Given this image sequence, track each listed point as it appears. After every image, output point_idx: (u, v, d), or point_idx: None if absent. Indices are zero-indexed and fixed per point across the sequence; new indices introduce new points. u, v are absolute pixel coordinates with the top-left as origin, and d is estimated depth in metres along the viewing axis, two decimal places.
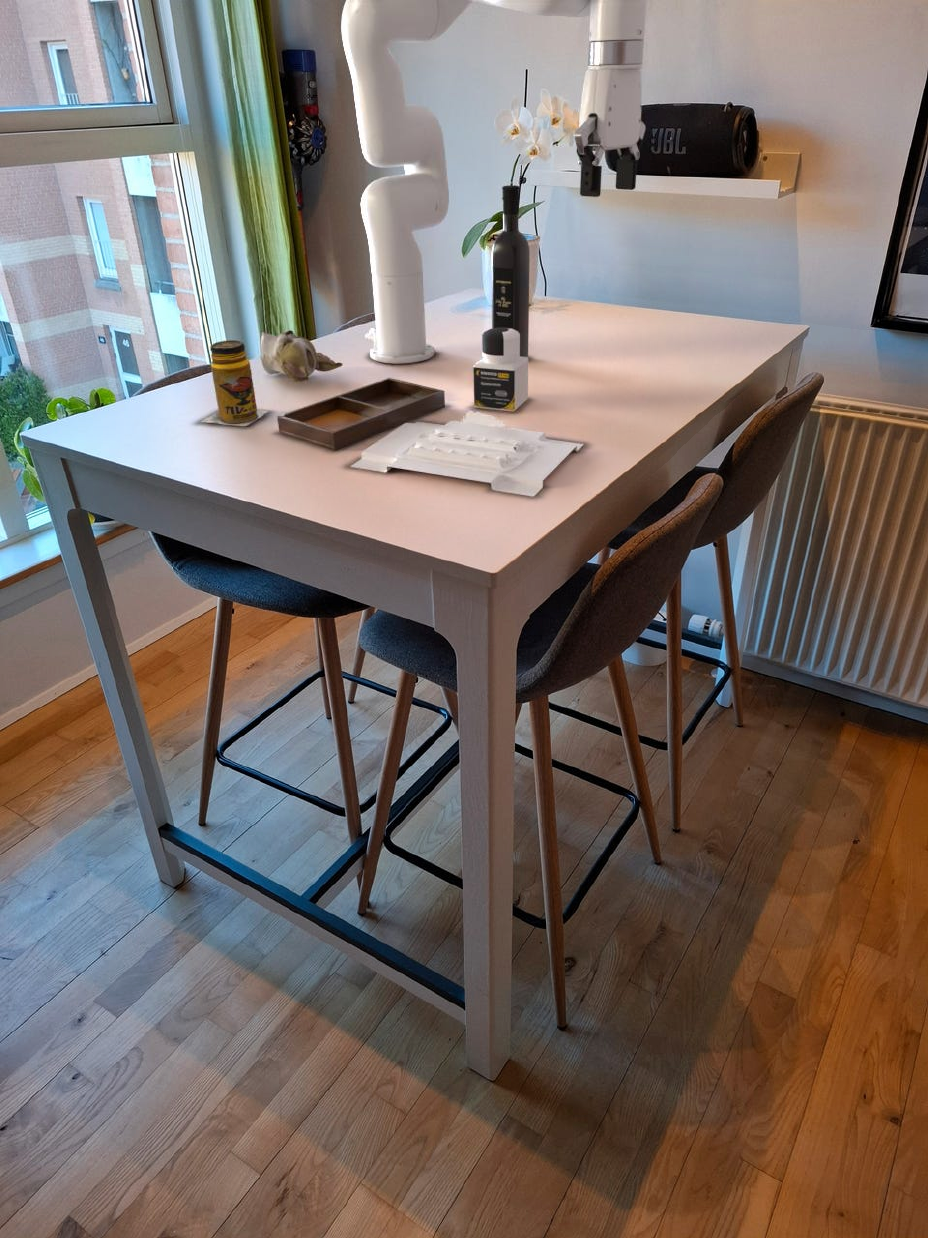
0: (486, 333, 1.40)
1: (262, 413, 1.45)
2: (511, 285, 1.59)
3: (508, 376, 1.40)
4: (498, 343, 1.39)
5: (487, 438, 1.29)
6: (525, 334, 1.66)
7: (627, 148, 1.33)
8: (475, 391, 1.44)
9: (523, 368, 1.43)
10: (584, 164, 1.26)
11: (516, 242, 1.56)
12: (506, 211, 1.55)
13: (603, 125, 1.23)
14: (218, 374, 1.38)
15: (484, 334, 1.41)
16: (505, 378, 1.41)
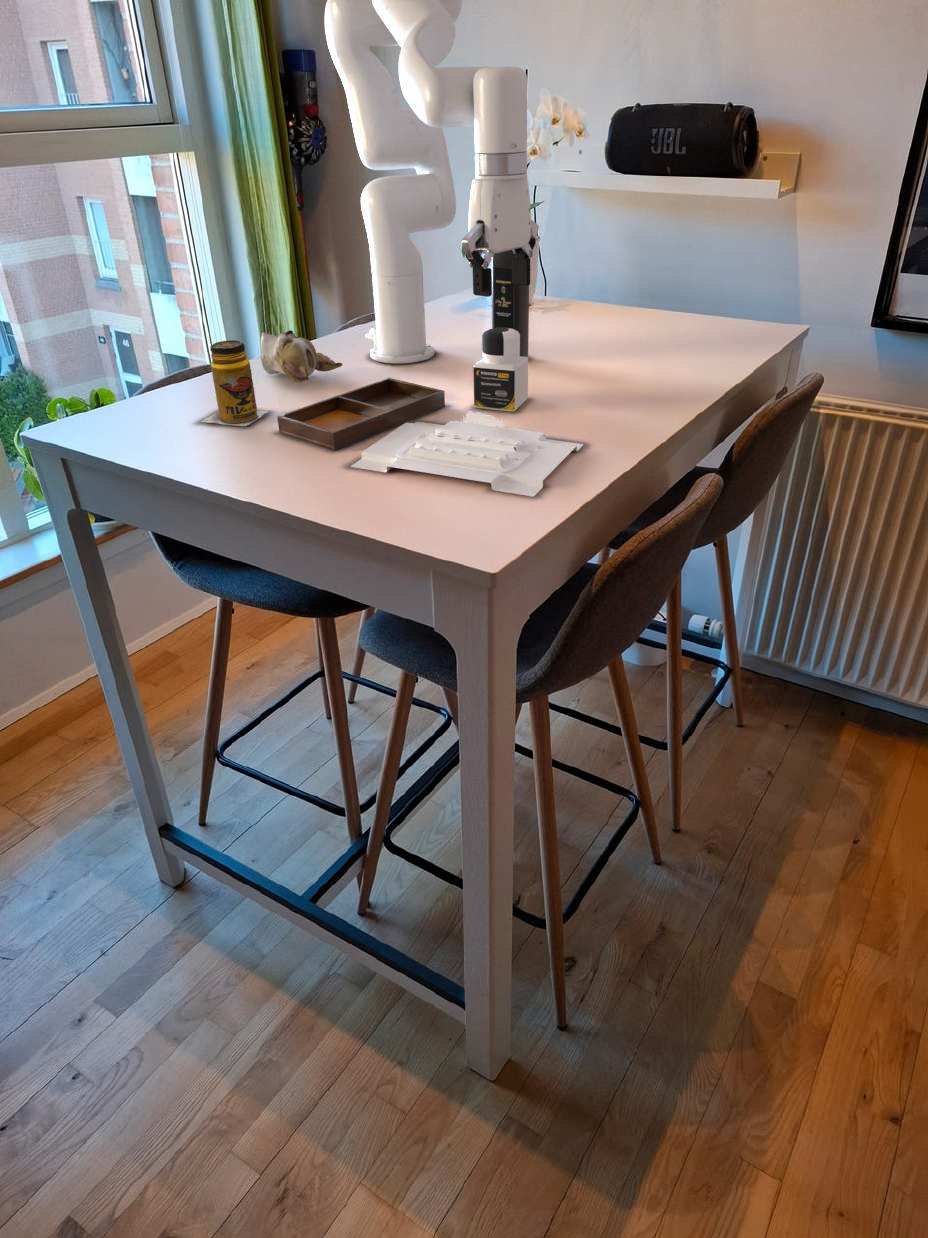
0: (486, 333, 1.40)
1: (262, 413, 1.45)
2: (512, 285, 1.59)
3: (508, 376, 1.40)
4: (498, 343, 1.39)
5: (487, 438, 1.29)
6: (525, 334, 1.66)
7: (521, 247, 1.38)
8: (475, 391, 1.44)
9: (523, 368, 1.43)
10: (474, 267, 1.32)
11: None
12: None
13: (490, 231, 1.29)
14: (218, 374, 1.38)
15: (484, 334, 1.41)
16: (505, 378, 1.41)
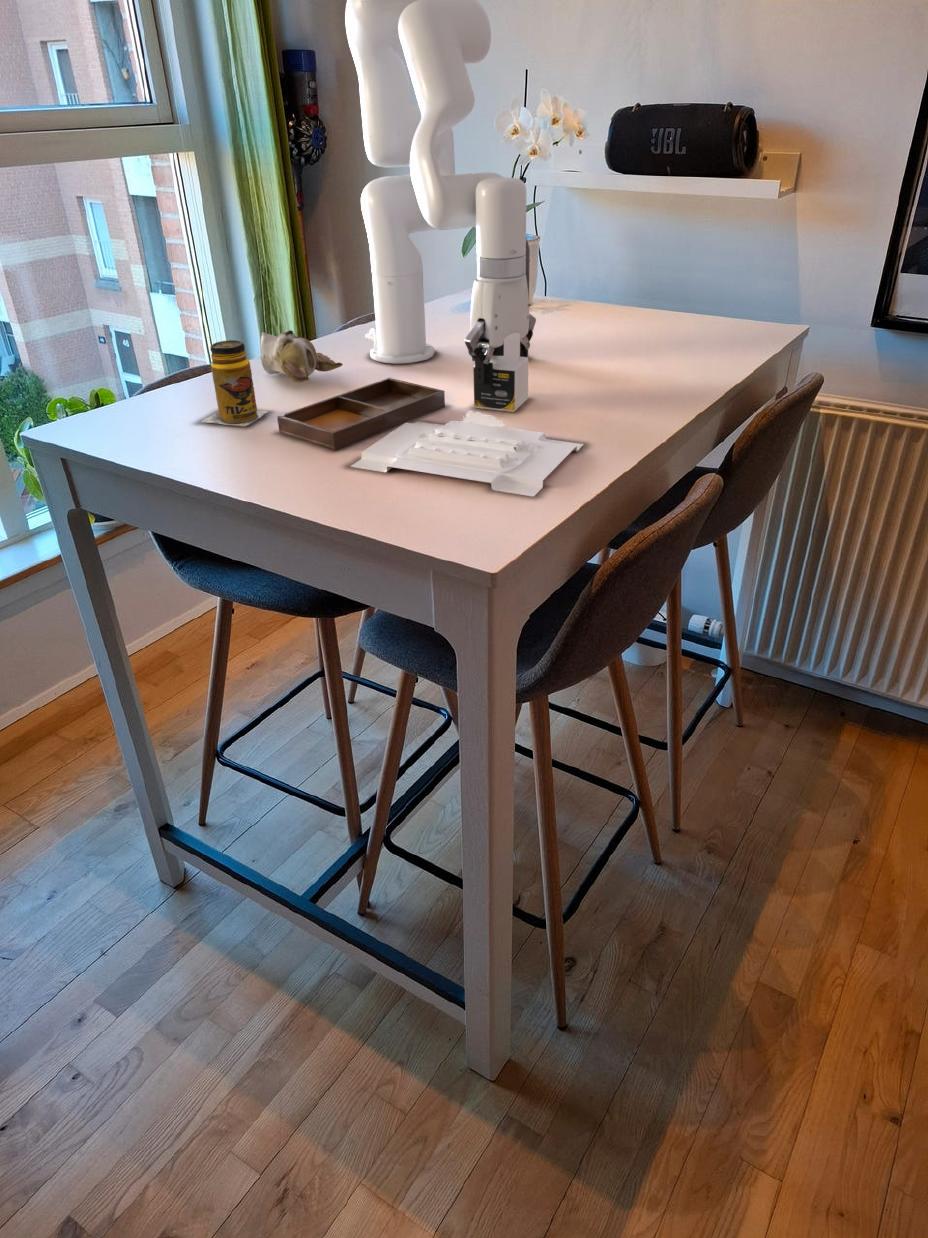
0: None
1: (262, 413, 1.45)
2: None
3: (508, 376, 1.40)
4: None
5: (487, 438, 1.29)
6: None
7: None
8: (475, 392, 1.44)
9: (523, 369, 1.43)
10: (477, 361, 1.39)
11: None
12: None
13: (490, 329, 1.36)
14: (218, 374, 1.38)
15: None
16: (505, 378, 1.41)
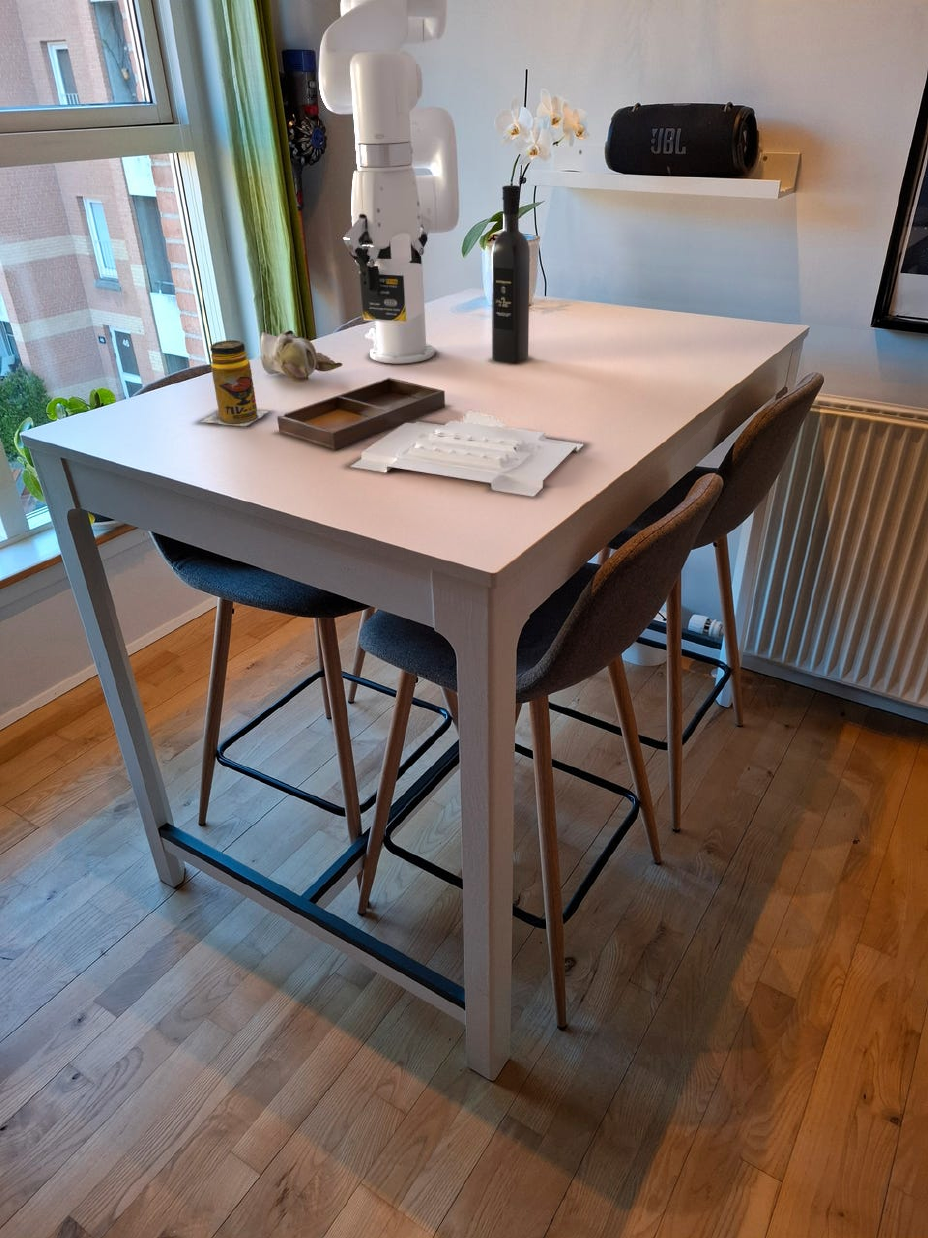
0: None
1: (262, 413, 1.45)
2: (512, 285, 1.59)
3: (397, 282, 1.27)
4: None
5: (487, 438, 1.29)
6: (525, 334, 1.66)
7: (412, 243, 1.32)
8: (362, 301, 1.30)
9: (415, 275, 1.30)
10: (360, 264, 1.25)
11: (516, 242, 1.56)
12: (506, 211, 1.55)
13: (373, 226, 1.22)
14: (218, 374, 1.38)
15: None
16: (394, 284, 1.27)
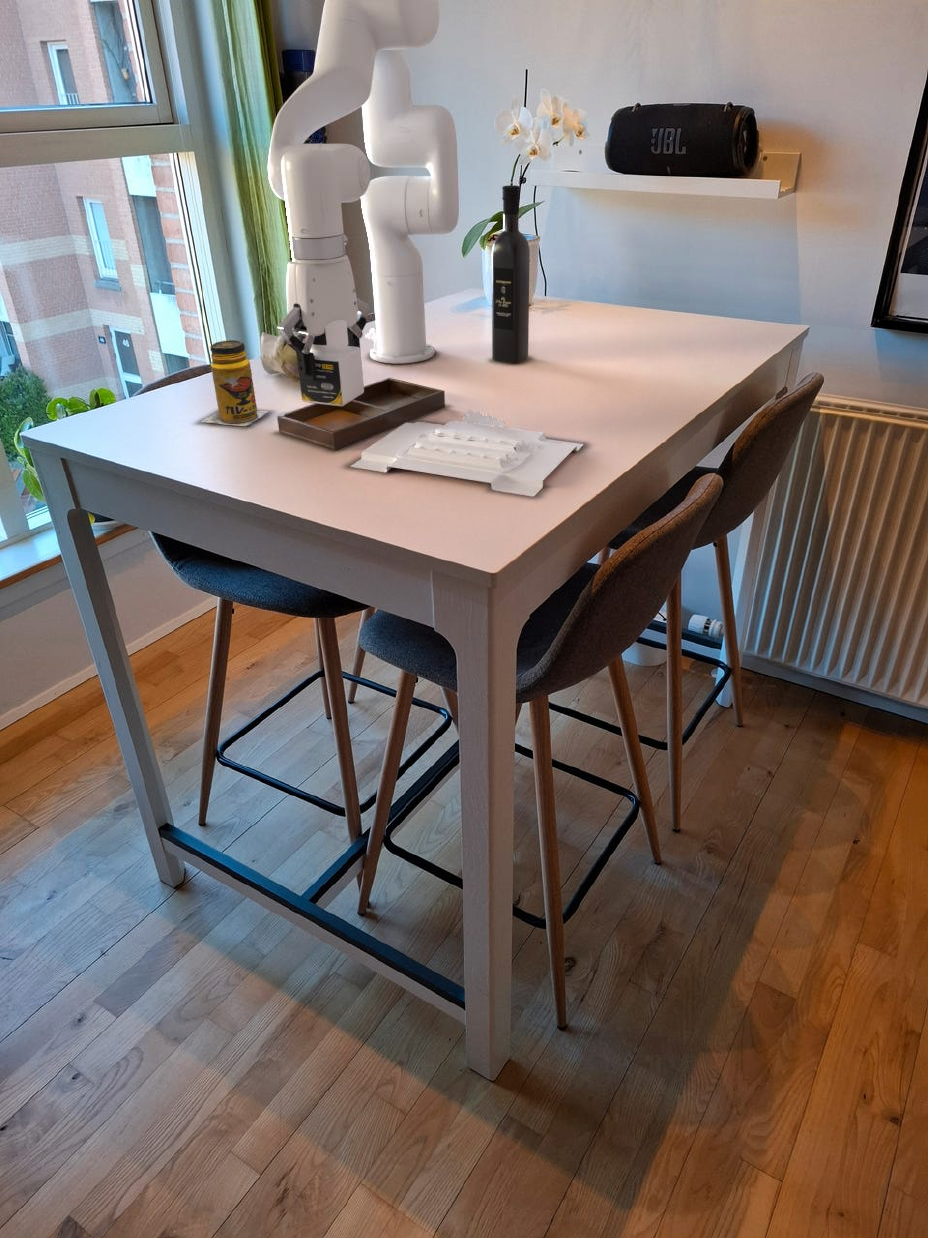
0: None
1: (262, 413, 1.45)
2: (512, 285, 1.59)
3: (332, 368, 1.29)
4: None
5: (487, 438, 1.29)
6: (525, 334, 1.66)
7: None
8: (300, 384, 1.33)
9: (352, 359, 1.32)
10: (296, 351, 1.28)
11: (516, 242, 1.56)
12: (506, 211, 1.55)
13: (306, 316, 1.25)
14: (218, 374, 1.38)
15: None
16: (330, 369, 1.29)
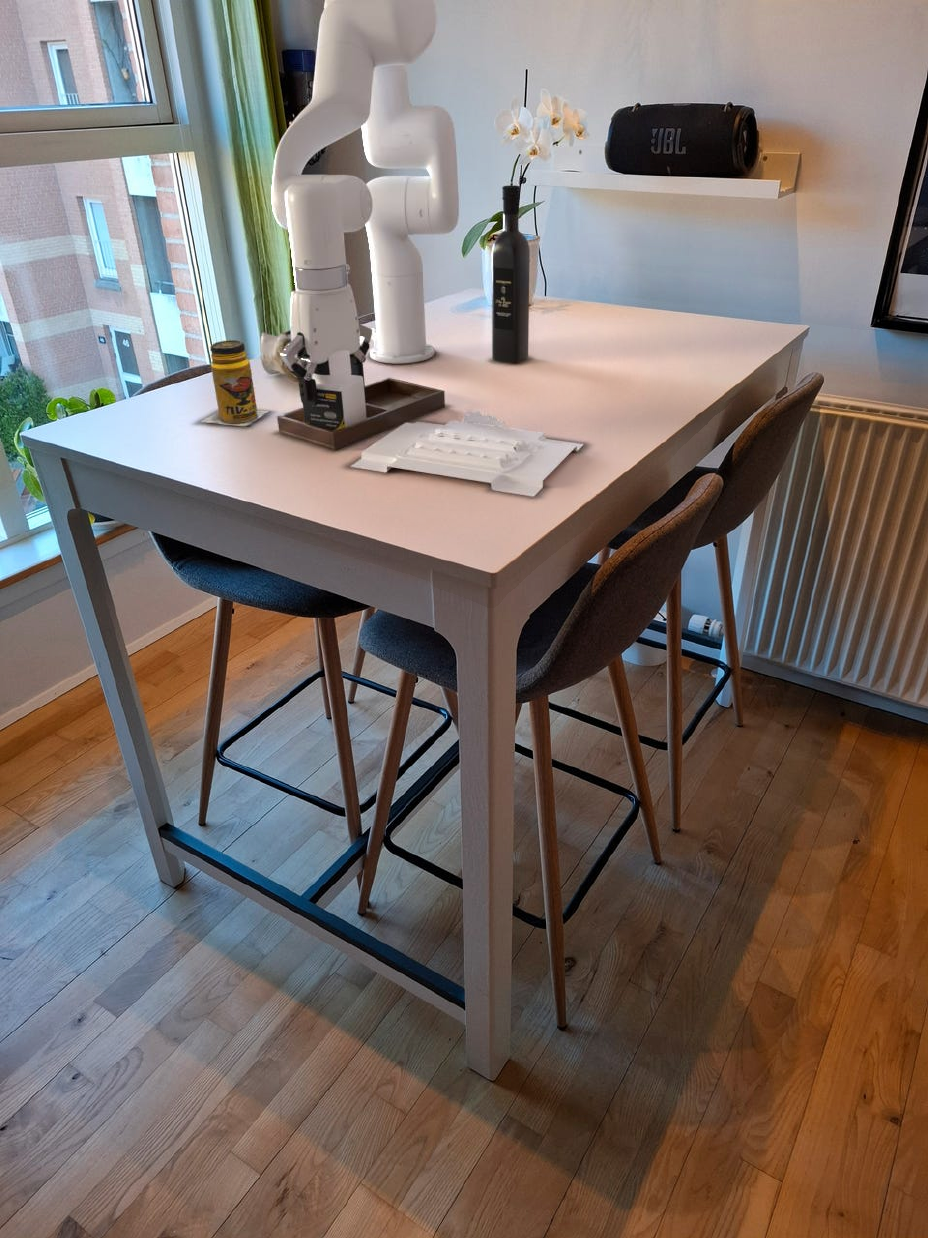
0: None
1: (262, 413, 1.45)
2: (512, 285, 1.59)
3: (335, 397, 1.31)
4: None
5: (487, 438, 1.29)
6: (525, 334, 1.66)
7: None
8: (304, 413, 1.35)
9: (355, 388, 1.34)
10: (298, 377, 1.30)
11: (516, 242, 1.56)
12: (506, 211, 1.55)
13: (310, 344, 1.27)
14: (218, 374, 1.38)
15: None
16: (333, 399, 1.32)
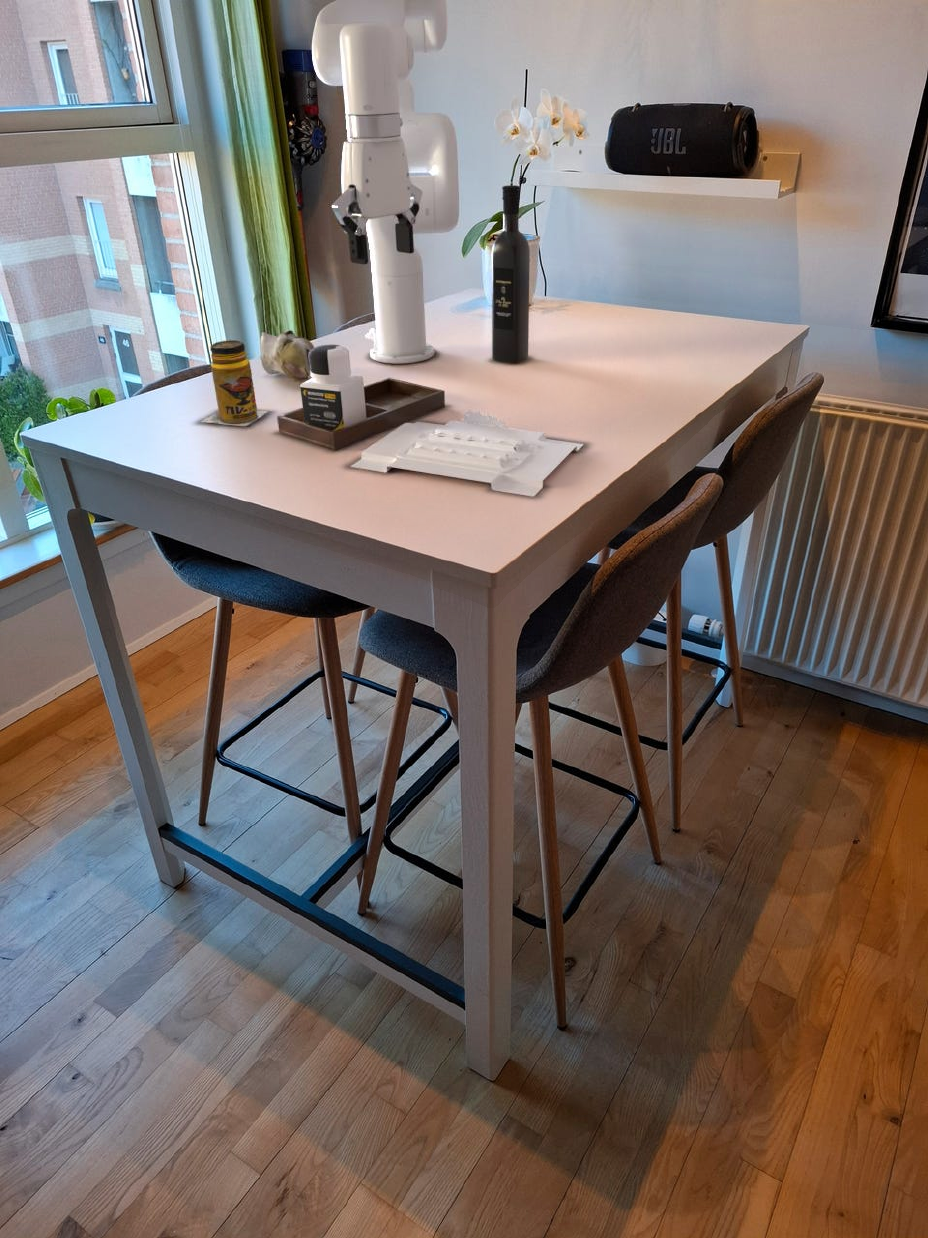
0: (312, 351, 1.31)
1: (262, 413, 1.45)
2: (512, 285, 1.59)
3: (335, 397, 1.31)
4: (322, 361, 1.30)
5: (487, 438, 1.29)
6: (525, 334, 1.66)
7: None
8: (304, 412, 1.35)
9: (355, 388, 1.34)
10: (349, 233, 1.28)
11: (516, 242, 1.56)
12: (506, 211, 1.55)
13: (361, 196, 1.25)
14: (218, 374, 1.38)
15: (310, 352, 1.32)
16: (332, 399, 1.32)
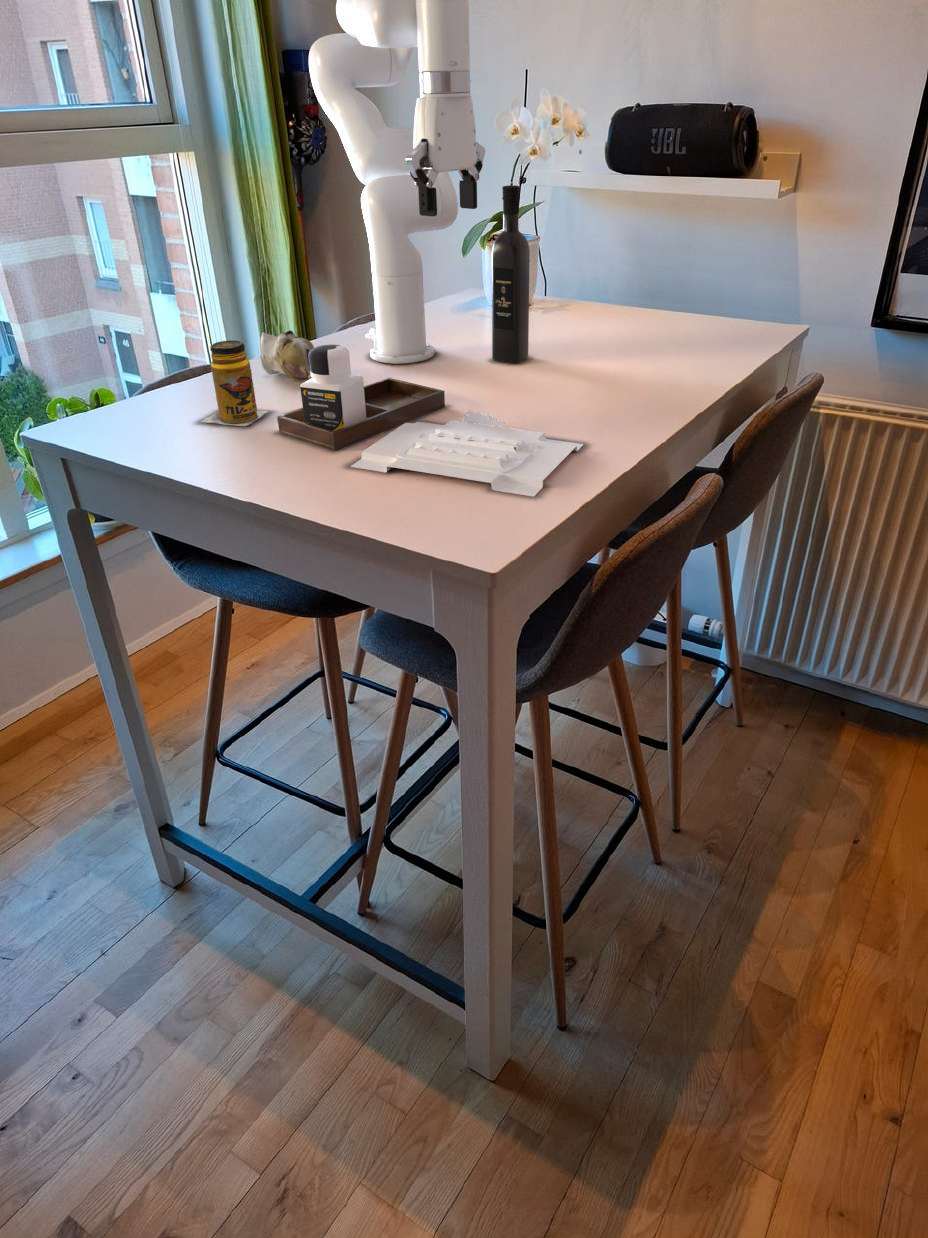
0: (312, 351, 1.31)
1: (262, 413, 1.45)
2: (512, 285, 1.59)
3: (335, 397, 1.31)
4: (322, 361, 1.30)
5: (487, 438, 1.29)
6: (525, 334, 1.66)
7: (468, 170, 1.41)
8: (304, 412, 1.35)
9: (355, 388, 1.34)
10: (419, 186, 1.34)
11: (516, 242, 1.56)
12: (506, 211, 1.55)
13: (433, 150, 1.31)
14: (218, 374, 1.38)
15: (310, 352, 1.32)
16: (332, 399, 1.32)
